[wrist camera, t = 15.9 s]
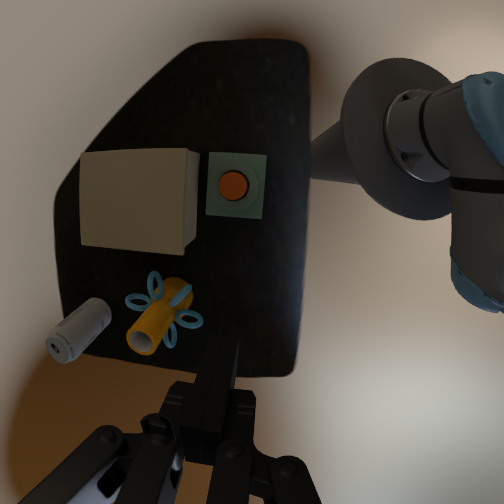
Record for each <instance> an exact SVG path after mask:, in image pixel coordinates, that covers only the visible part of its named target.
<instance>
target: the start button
mask: <svg viewBox="0 0 504 504" xmlns="http://www.w3.org/2000/svg"><path fill="white" fill-rule="evenodd" d="M246 190H247V180H246V178H245V177H244V176H243V175H242V174H240V173H237V172H229V173H227V174H225V175H224V176H223V177H222V178H221V179H220V181H219V191H220V193H221V194H222V195H223V196H224V197H225V198H227V199H230V200H235V199H239V198H240V197H242V196H243V195H244V194H245V192H246Z"/></svg>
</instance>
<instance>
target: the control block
mask: <svg viewBox="0 0 504 504" xmlns="http://www.w3.org/2000/svg"><path fill="white" fill-rule="evenodd" d="M266 161H267V155H256V154H241V153H222V152H210V153H209V166H208V181H207V198H206V215H216V216H230V217H242V218H254V219H262V209H263V197H264V185H265V173H266ZM229 172H237V173H240V174H242V175H243V176H244V177H245V178H246V180H247V190H246V192H245V194H244V195H243V196H242V197H240V198H239V199H235V200H230V199H227V198H225V197H224V196H223V195H222V194H221V193H220V191H219V181H220V179H221V178H222V177H223V176H224V175H225V174H227V173H229Z"/></svg>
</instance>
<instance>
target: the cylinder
mask: <svg viewBox="0 0 504 504" xmlns="http://www.w3.org/2000/svg"><path fill="white" fill-rule="evenodd" d="M154 276H155V277H156V279H157V282H158V287H157V288H156V289H155V290H154V289H153V278H154ZM147 287H148V292H149V294H150V296H151V299H150V298H149V297H148V296H146V295H143V294H130V295H128V296H127V297H126V299H125V303H126V305H127V306H128V307H129V308H131V309H133V310H136V311H145V312H144V313H143V314H142V315H141V316H140V318H139V319H138V320H137V321H136V322H135V324H134V325H133V326H132V327H131V328H130V330H129V331H128V332H127V336H126V337H127V342H128V344H129V346H130V347H131V348H132V349H133V350H134V351H136V352H137V353H139V354H142V355H150V354H152V353H153V352H154V351H155V350H156V348H157V346H158V345H159V343H160V341H161V340H162V338H163V340H164V343H165V345H166V346H167V347H169V348H173V347H174V346H175V344H176V340H177V332H176V328H175V325H174V323H173V321H176V322H177V323H178V324H179V325H181V326H183V327H186V328H198V327H200V326H201V325H202V324H203V318H202V316H201V315H200V314H199V313H197V312H195V311H192V310H188V308H189V306H190V305H191V303H192V300H193V292H192V285H191V284H188V283H187V282H186V281H184V280H183V279H181V278H177V277H170V278H167V279H165V280H164V281H162V278H161V276H160V274H159V273H158V272H157V271H152V272H150V274H149V276H148V280H147ZM132 299H142V300H145V301H146V302H147V303H148V304H147V305H144V306H139V305H135V304H133V303H131V302H130V300H132ZM184 315H191V316H194V317H195V318H197V319H198V322H196V323H188V322H185V321H183V320H181V319H180V318H182V317H183V316H184ZM169 327H170V328H171V331H172V340H171V343H170V342H169V339H168V328H169Z"/></svg>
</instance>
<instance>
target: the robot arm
mask: <svg viewBox="0 0 504 504" xmlns="http://www.w3.org/2000/svg"><path fill="white" fill-rule="evenodd" d="M420 89H421V88H420ZM420 89H415V90H409V91H406V92H404V93H402V94H400V95H398V96H397V97H395V98H394V99H393V100H392V101H391V102H390V104H389V105H388V107H387V109H386V111H385V115H384V119H383V135H384V140H385V144H386V147H387V149H388V152H389V154H390V156H391V157H392V159H393V161H394V162H395V163H396V165H397V166H398V167H399V168H400V169H401V170H402V171H403V172H404V173H405V174H407V175H408V176H410V177H412V178H414V179H416V180H419V181H425V182H438V181H442V180H444V179H446V178H448V177H449V176H450V184H451V212H452V233H451V234H452V236H451V246H450V257H451V279H452V282H453V284H454V286H455V289H456V290H457V292H458V293H459V294H460V295H461V296H462V297H463V298H464V299H465V300H467V301H468V302H469V303H471V304H472V305H474V306H476V307H478V308H480V309H483V310H485V311H489V312H493V313H498V312H499V311H501V312H502V313H504V74H501V73H498V72H485V73H482V74H478V75H477V74H474V75H469V76H467V77H466V78H465V79H463V80H460V81H458V82H456V83H453V84H451V85H448V86H446V87H444V88H442V89H439V90H437V91H435V92H433V91H426V90H420ZM238 341H239V337H232V336H223V335H215V334H211V336H210V339H209V341H208V344H207V347H206V350H205V353H204V356H203V359H202V361H201V364H200V367H199V370H198V373H197V376H196V379H195V382H194V384H193V383H187V382H181V381H176V382H175V383H174V384H173V385H172V386H171V387H170V388H169V391H168V393H167V396H166V397H165V400H164V402H163V404H162V406H161V409H160V411H159V413H153V414H148V415H147V416H145V417H143V419H142V420H141V421H140V422H141V426H142V429H143V432H142V433H137V434H133V433H132V434H131V433H122V431H121V430H120V429H118V428H117V427H115V426H112V425H104V426H100V427H99V428H97V429H96V430H95V431H94V432H93V433H92V434H91V435H90V436H88V438H86V439H85V440H84V441H83V442H82V443H81V444H80V445H79V446H78V447H77V448H76V449H75V450H74V451H73V452H72V453H71V454H70V455H69V456H68V457H67V458H66V459H65V460H64V461H62V462H61V463H60V464H59V465H58V466H57V467H56V468H55V469H54V470H53V471H52V472H51V473H50V474H49V475H48V476H47V477H46V478H44V479H43V480H42V481H41V482H40V483H39V484H38V485H37V486H36V487H35V488H34V489H33V490H32V491H31V492H29V493H28V494H27V495H26V496H25V497H24V498H23V499H22V500H21V501H20V502H19V503H17V504H112V503H113V502H114V501H115V503H114V504H174V502H175V498H176V495H177V491H178V487H179V484H180V480H181V476H182V473H183V465H182V463H183V459H184V457H185V460H186V461H189V462H194V463H199V464H205V465H211V466H213V471H212V476H211V482H210V486H209V491H208V496H207V502H206V504H248V502H249V494H251V495H254V496H257V497H260V498H263V501H264V504H322V503H321V500H320V498H319V496H318V493H317V491H316V489H315V486H314V484H313V481H312V479H311V476H310V474H309V471H308V469H307V466H306V465H305V463H304V462H303V461H302V460H301V459H299V458H298V457H294V456H282V457H278V458H277V459H276V458H273V457H270V456H267V455H264V454H262V453H261V452H260V451H258V450H257V449H256V447H255V445H254V443H253V435H254V422H255V408H256V397H255V395H254V393H253V391H252V390H241V389H234V385H235V379H236V370H237V356H238ZM115 499H116V500H115Z"/></svg>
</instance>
